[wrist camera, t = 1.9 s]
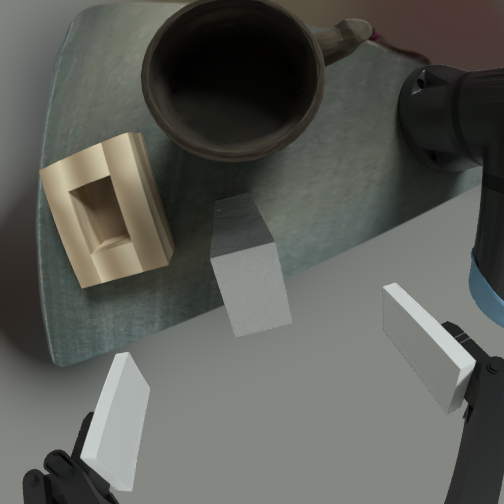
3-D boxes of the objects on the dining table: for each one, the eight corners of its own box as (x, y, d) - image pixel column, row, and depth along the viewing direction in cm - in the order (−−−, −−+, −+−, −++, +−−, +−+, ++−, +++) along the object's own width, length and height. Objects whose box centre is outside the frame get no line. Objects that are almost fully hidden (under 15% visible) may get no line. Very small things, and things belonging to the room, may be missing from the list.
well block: (142, 133, 32) (127, 132, 26) (176, 245, 37) (168, 265, 31) (63, 165, 32) (39, 171, 26) (99, 267, 37) (81, 288, 31)
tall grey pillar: (248, 192, 35) (274, 241, 19) (260, 239, 38) (292, 322, 21) (215, 200, 35) (209, 258, 19) (228, 248, 37) (235, 337, 21)
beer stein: (221, 172, 34) (220, 211, 16) (163, 100, 31) (97, 58, 12) (327, 97, 32) (432, 66, 13) (273, 27, 29) (325, -67, 10)
